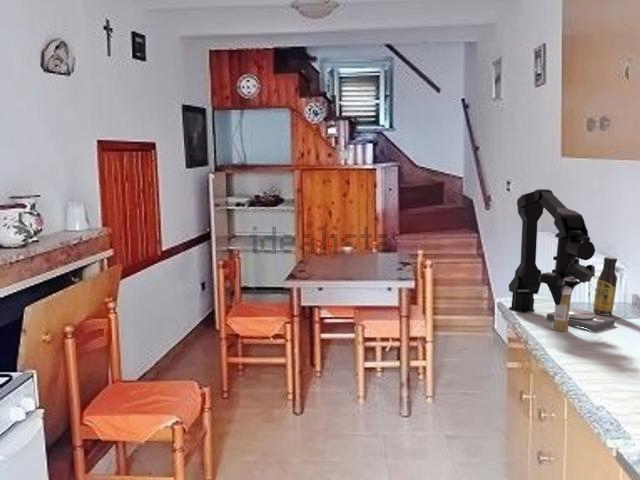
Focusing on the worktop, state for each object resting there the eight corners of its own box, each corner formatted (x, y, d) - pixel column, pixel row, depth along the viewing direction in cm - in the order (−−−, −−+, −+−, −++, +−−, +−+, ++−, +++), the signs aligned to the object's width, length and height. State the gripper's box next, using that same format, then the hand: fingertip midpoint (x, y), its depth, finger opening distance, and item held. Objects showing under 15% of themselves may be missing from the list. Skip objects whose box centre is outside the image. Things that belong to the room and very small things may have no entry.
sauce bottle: (588, 312, 243) (595, 255, 240) (601, 311, 246) (607, 255, 243) (604, 316, 238) (610, 259, 235) (617, 315, 240) (623, 258, 238)
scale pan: (549, 313, 230) (549, 310, 230) (568, 309, 237) (568, 306, 237) (582, 321, 221) (582, 318, 221) (600, 316, 229) (601, 313, 228)
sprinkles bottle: (571, 330, 217) (575, 288, 214) (561, 332, 214) (565, 289, 212) (558, 326, 220) (563, 285, 218) (549, 328, 218) (553, 286, 216)
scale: (546, 319, 229) (547, 312, 229) (568, 314, 238) (569, 307, 238) (592, 331, 217) (593, 323, 217) (614, 325, 227) (615, 317, 226)
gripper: (575, 261, 202) (569, 313, 204) (606, 256, 214) (601, 306, 216) (540, 254, 210) (535, 305, 212) (573, 250, 222) (567, 298, 225)
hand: (561, 304), depth 216 cm, fingers closed on sprinkles bottle, 4 cm apart
